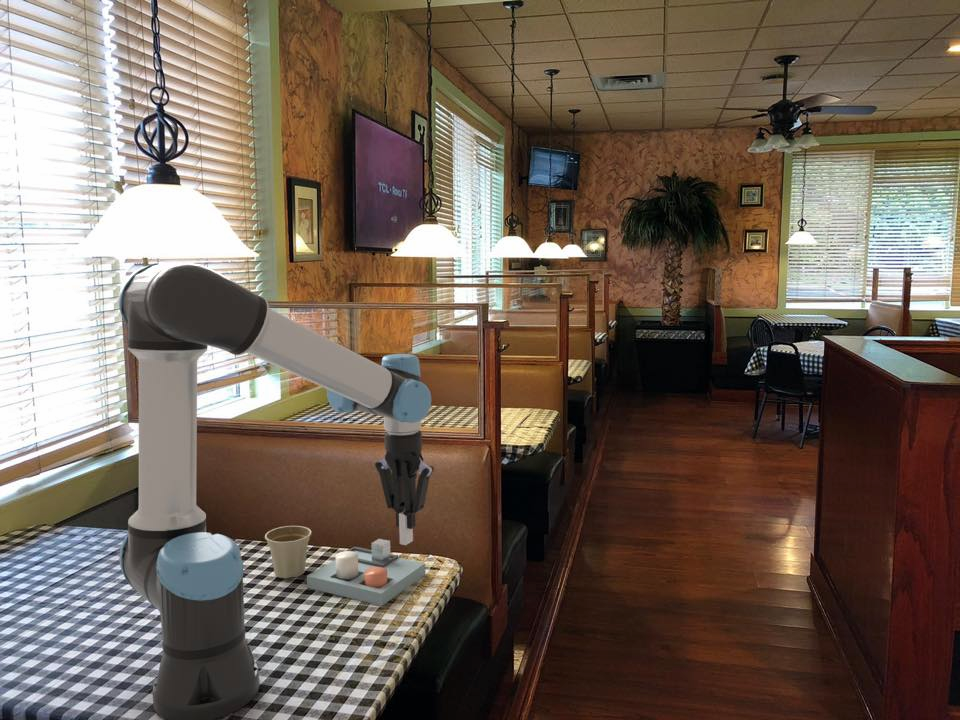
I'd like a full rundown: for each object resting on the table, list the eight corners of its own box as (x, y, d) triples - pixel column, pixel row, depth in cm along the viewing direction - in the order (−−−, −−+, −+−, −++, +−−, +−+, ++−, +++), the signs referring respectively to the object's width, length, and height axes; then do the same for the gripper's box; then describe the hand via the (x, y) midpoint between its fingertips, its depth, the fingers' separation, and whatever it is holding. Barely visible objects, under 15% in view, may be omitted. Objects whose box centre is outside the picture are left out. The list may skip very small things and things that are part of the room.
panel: (381, 605, 141) (381, 590, 141) (307, 587, 149) (306, 573, 149) (425, 574, 155) (425, 560, 155) (355, 559, 164) (354, 546, 163)
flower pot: (306, 582, 152) (305, 542, 151) (260, 582, 152) (258, 541, 151) (317, 564, 161) (316, 525, 160) (274, 564, 161) (272, 525, 160)
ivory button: (349, 580, 147) (348, 561, 146) (331, 576, 149) (331, 557, 148) (362, 572, 150) (362, 553, 150) (345, 568, 152) (344, 549, 152)
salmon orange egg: (379, 597, 144) (378, 577, 143) (360, 593, 146) (360, 573, 145) (391, 588, 148) (391, 569, 147) (373, 584, 150) (373, 565, 149)
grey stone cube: (382, 563, 155) (382, 545, 154) (371, 561, 156) (371, 543, 155) (390, 559, 157) (390, 540, 157) (379, 556, 158) (379, 538, 158)
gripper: (440, 429, 151) (442, 541, 154) (386, 424, 156) (390, 531, 160) (420, 438, 144) (423, 554, 147) (365, 431, 150) (369, 543, 153)
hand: (406, 542), depth 153 cm, fingers closed
